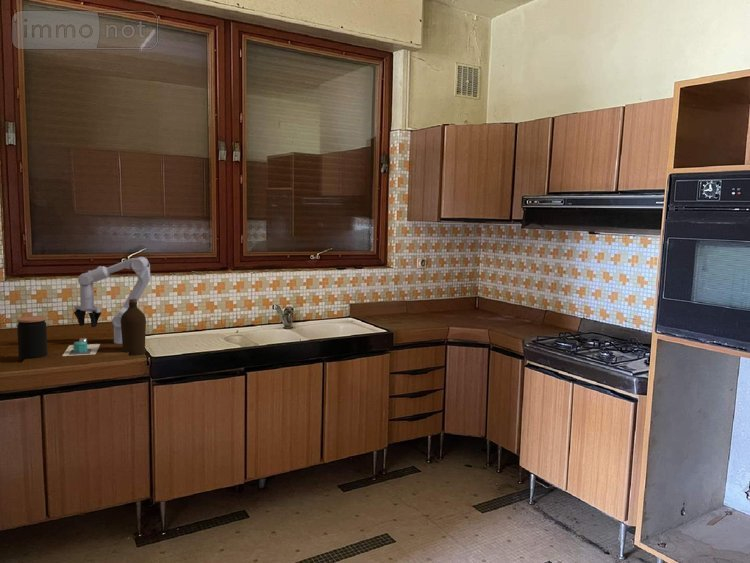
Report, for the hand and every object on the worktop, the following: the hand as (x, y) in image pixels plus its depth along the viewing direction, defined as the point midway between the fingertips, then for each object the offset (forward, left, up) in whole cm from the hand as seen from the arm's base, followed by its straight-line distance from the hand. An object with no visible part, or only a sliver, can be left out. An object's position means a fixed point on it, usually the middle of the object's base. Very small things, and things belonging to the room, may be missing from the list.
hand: (87, 326), depth 267 cm
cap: (+1, +20, -8) cm, 21 cm away
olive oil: (-21, +21, -10) cm, 31 cm away
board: (+1, +15, -9) cm, 18 cm away
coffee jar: (+19, +22, -10) cm, 31 cm away
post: (+1, +10, -8) cm, 13 cm away
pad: (+1, +20, -8) cm, 22 cm away
